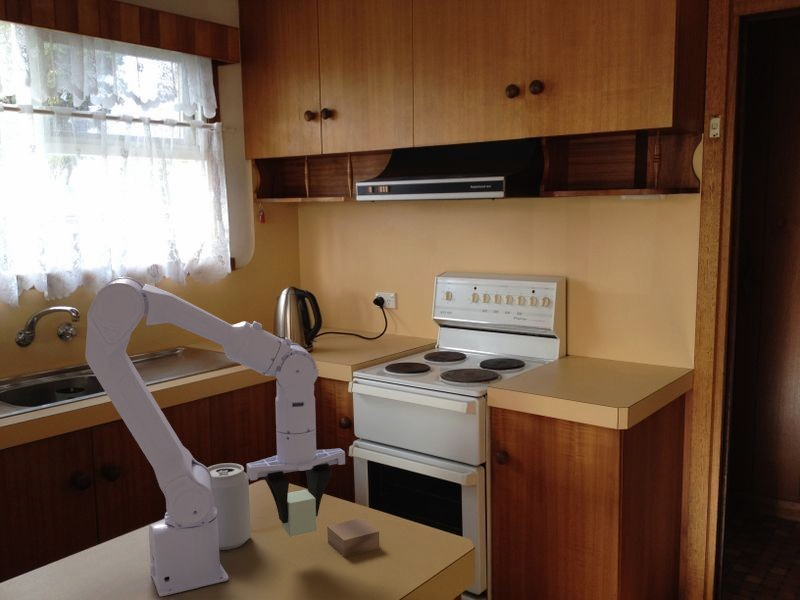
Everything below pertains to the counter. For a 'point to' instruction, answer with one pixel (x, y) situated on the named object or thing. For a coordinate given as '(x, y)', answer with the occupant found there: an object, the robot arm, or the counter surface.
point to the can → (231, 504)
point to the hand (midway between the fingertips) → (298, 517)
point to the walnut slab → (353, 537)
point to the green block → (300, 513)
